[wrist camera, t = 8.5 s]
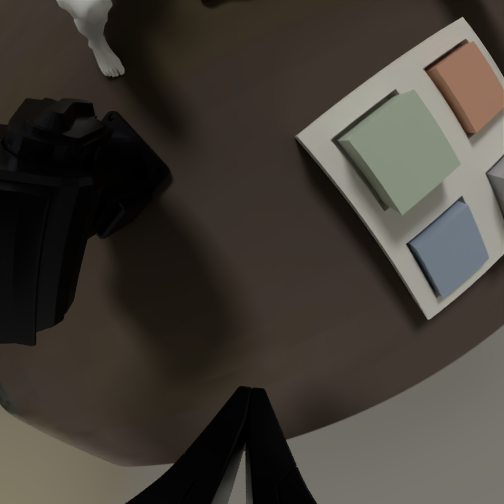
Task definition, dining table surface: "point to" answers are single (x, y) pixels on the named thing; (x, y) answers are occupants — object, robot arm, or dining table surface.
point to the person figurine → (95, 31)
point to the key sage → (401, 151)
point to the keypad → (444, 194)
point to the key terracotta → (468, 86)
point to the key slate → (449, 249)
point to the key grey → (498, 182)
